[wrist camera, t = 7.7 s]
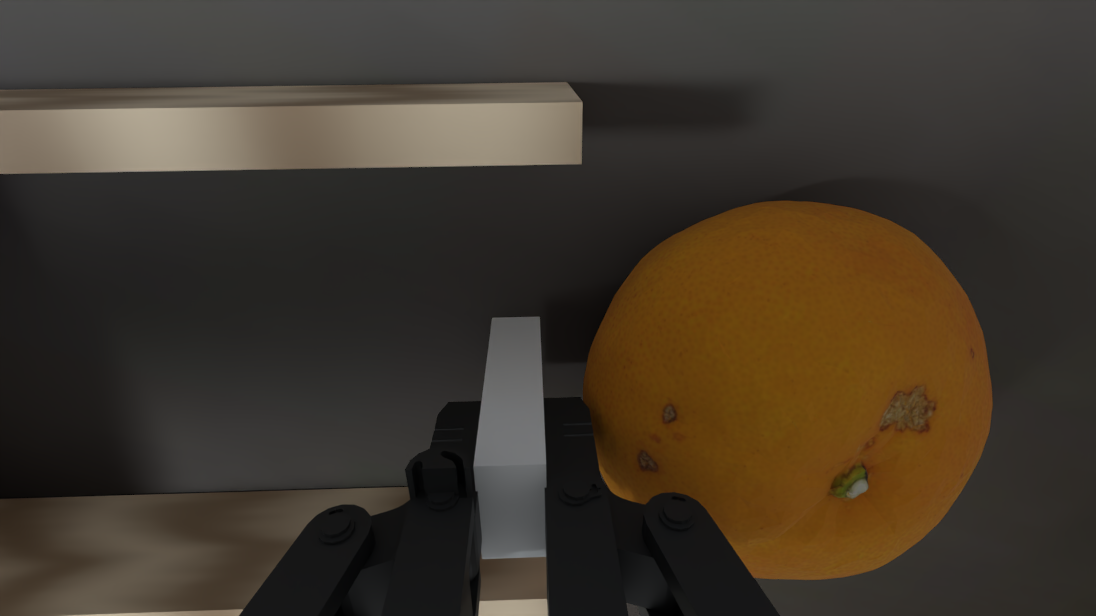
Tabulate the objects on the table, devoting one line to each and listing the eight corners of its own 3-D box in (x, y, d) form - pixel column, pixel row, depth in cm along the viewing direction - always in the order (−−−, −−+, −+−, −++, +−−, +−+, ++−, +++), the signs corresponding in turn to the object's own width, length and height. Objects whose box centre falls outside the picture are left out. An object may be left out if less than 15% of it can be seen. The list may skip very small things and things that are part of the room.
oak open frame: (-20, 522, 22) (-199, 681, 16) (-299, 93, 15) (-775, 127, 9) (564, 504, 22) (576, 653, 17) (567, 81, 15) (587, 107, 10)
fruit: (947, 283, 18) (1213, 441, 11) (733, 483, 22) (831, 699, 15) (714, 98, 16) (873, 153, 8) (514, 364, 19) (505, 558, 12)
